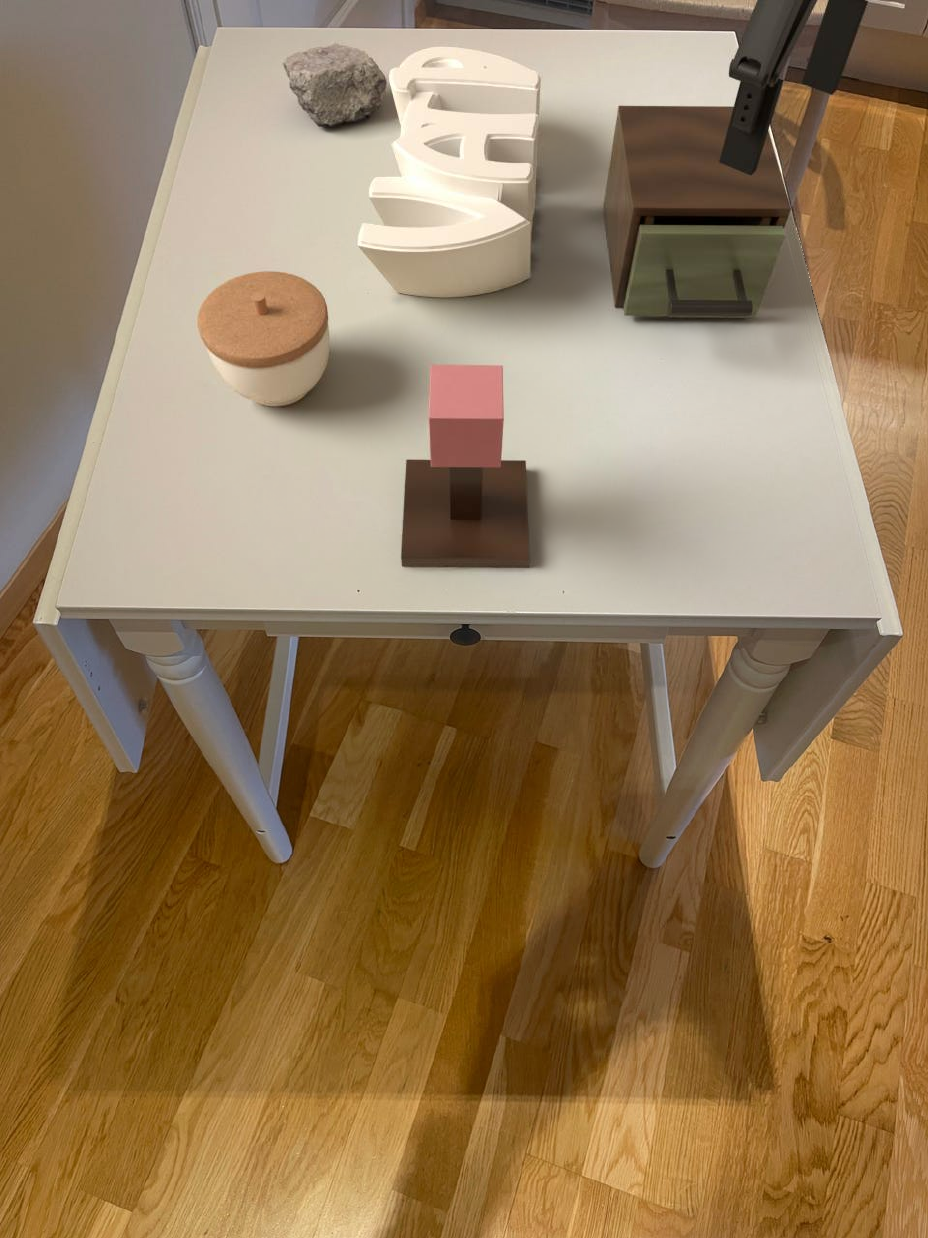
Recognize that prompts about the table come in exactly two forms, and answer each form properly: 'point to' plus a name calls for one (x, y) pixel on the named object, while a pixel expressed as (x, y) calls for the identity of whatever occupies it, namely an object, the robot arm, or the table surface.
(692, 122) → the cabinet
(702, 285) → the drawer
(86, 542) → the table surface
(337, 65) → the rock
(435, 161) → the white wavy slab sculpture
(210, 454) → the table surface
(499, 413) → the block
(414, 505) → the stand
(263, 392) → the trinket box
